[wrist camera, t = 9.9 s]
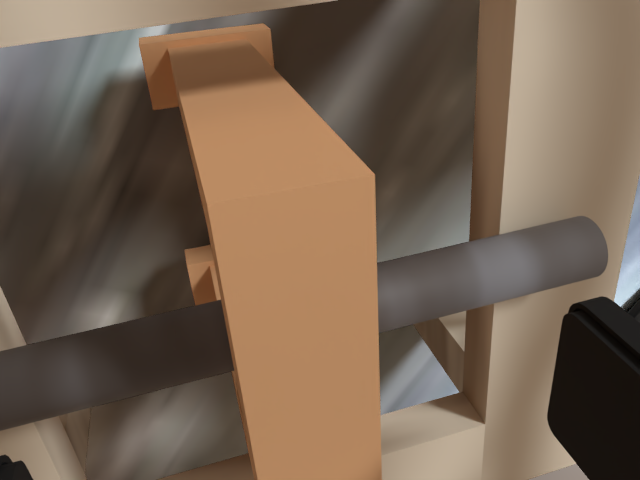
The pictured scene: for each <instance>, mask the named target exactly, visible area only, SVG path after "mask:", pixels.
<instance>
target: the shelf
mask: <svg viewBox="0 0 640 480" xmlns="http://www.w3.org/2000/svg"><path fill="white" fill-rule="evenodd" d="M329 1H336V0H0V48H2V47H9V46H16V45H23V44H30V43H37V42H45V41H52V40H59V39H66V38H73V37H80V36H87V35H94V34H101V33H109V32H116V31H123V30H130V29H137V28H144V27H151V26H158V25H165V24H173V23H180V22H187V21H194V20H201V19H208V18H215V17H222V16H230V15H237V14H244V13H251V12H258V11H265V10H272V9H279V8H286V7H294V6H301V5H308V4H315V3H322V2H329ZM639 174H640V0H480V9H479V31H478V54H477V77H476V99H475V122H474V145H473V167H472V190H471V213H470V235H469V242H465V243H461V244H457V245H452V246H448V247H444V248H440V249H435V250H431V251H427V252H423V253H418V254H414V255H410V256H405V257H401V258H397V259H393V260H388V261H384V262H380V263H377V286H378V330H379V333H382V332H385V331H389V330H393V329H397V328H401V327H405V326H409V325H414V327H415V328H416V330H417V331H418V333H419V334H420V335H421V337H422V338H423V340H424V341H425V343H426V344H427V346H428V347H429V348H430V350H431V351H432V353H433V354H434V356H435V357H436V359H437V360H438V362H439V363H440V364H441V366H442V367H443V369H444V370H445V372H446V373H447V375H448V376H449V378H450V379H451V380H452V382H453V383H454V385H455V386H456V388H457V389H458V391H459V392H460V393H457V394H453V395H450V396H446V397H443V398H439V399H436V400H432V401H429V402H425V403H422V404H418V405H415V406H411V407H408V408H404V409H401V410H397V411H394V412H390V413H387V414H384V415H380V418H381V462H382V480H529V479H531V478H534V477H538V476H541V475H544V474H547V473H550V472H553V471H556V470H559V469H562V468H565V467H568V466H572V465H574V464H576V462H575V461H574V460H573V459H572V457H571V456H570V455H569V454H568V452H567V451H566V450H565V449H564V447H563V446H562V445H561V444H560V442H559V441H558V440H557V439H556V437H555V436H554V435H553V433H552V432H551V430H550V427H549V425H548V421H547V412H548V406H549V400H550V393H551V387H552V381H553V375H554V369H555V362H556V356H557V350H558V344H559V338H560V331H561V325H562V320H563V316H564V315H565V314H568V311H569V308H570V306H571V305H572V304H574V303H578V302H582V301H585V300H589V299H593V298H597V297H600V296H604V297H607V298H609V299H611V300H612V301H614V297H615V293H616V288H617V283H618V278H619V273H620V268H621V263H622V258H623V253H624V248H625V243H626V238H627V233H628V228H629V223H630V218H631V213H632V209H633V204H634V199H635V194H636V189H637V184H638V179H639ZM231 371H234V366H233V361H232V356H231V350H230V345H229V340H228V334H227V329H226V324H225V318H224V313H223V308H222V302H221V300H217V301H213V302H209V303H204V304H200V305H196V306H191V307H187V308H183V309H179V310H174V311H170V312H166V313H162V314H157V315H153V316H149V317H144V318H140V319H136V320H132V321H127V322H123V323H119V324H114V325H110V326H106V327H102V328H97V329H93V330H89V331H85V332H80V333H76V334H72V335H67V336H63V337H59V338H55V339H50V340H46V341H42V342H37V343H33V344H29V345H26V342H25V340H24V338H23V336H22V333H21V331H20V329H19V327H18V325H17V322H16V320H15V318H14V316H13V313H12V311H11V309H10V307H9V305H8V302H7V300H6V298H5V296H4V293H3V291H2V289H1V287H0V456H1V455H7V456H9V458H10V459H11V460H12V462H16V461H20V460H21V461H23V462H24V463H25V465H26V467H27V469H28V470H29V472H30V474H31V476H32V478H33V480H87V478H86V476H85V468H86V457H87V447H88V436H89V425H90V414H91V407H95V406H99V405H103V404H107V403H110V402H114V401H118V400H122V399H126V398H130V397H134V396H138V395H141V394H145V393H149V392H153V391H157V390H161V389H165V388H169V387H172V386H176V385H180V384H184V383H188V382H192V381H196V380H200V379H203V378H207V377H211V376H215V375H219V374H223V373H227V372H231ZM157 480H254V476H253V471H252V466H251V462H250V457H249V453H248V454H244V455H241V456H237V457H234V458H230V459H227V460H223V461H220V462H216V463H213V464H209V465H206V466H202V467H199V468H195V469H192V470H188V471H185V472H181V473H178V474H174V475H171V476H167V477H164V478H160V479H157Z"/></svg>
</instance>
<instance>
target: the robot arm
mask: <svg viewBox="0 0 640 480" xmlns="http://www.w3.org/2000/svg"><path fill="white" fill-rule="evenodd" d="M547 421H548V425H549V427H550V430H551V432H552V433H553V435H554V436H555V437H556V439H557V440H558V441H559V442H560V444H561V445H562V446H563V447H564V449H565V450H566V451H567V452H568V454H569V455H570V456H571V457H572V459H573V460H574V461H575V462H576V464H577V465H578V466H579V467H580V469H581V470H582V471H583V472H584V473H585V475H586V476H587V477H588V479H589V480H640V323H639V322H638V321H637V320H636V319H634V318H633V317H632V316H631V315H630V314H628V313H627V312H626V311H625V310H623V309H622V308H621V307H620V306H618V305H617V304H616V303H615V302H614V301H612V300H611V299H609V298H607V297H604V296H600V297H597V298H593V299H589V300H585V301H582V302H578V303H574V304H572V305H571V306H570V308H569V311H568V314H565V315H564V316H563V320H562V325H561V331H560V338H559V344H558V350H557V356H556V362H555V369H554V375H553V381H552V387H551V393H550V400H549V406H548V412H547ZM0 480H33V478H32V476H31V474H30V472H29V470H28V469H27V467H26V465H25V463H24V462H23V461H21V460H20V461H16V462H12V460H11V459H10V458H9V456H7V455H1V456H0Z"/></svg>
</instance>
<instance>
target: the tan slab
mask: <svg viewBox="0 0 640 480" xmlns="http://www.w3.org/2000/svg"><path fill="white" fill-rule="evenodd" d="M139 47H140V51H141V56H142V61H143V65H144V70H145V74H146V79H147V84H148V88H149V93H150V98H151V102H152V107H153V110H158V109H165V108H172V107H179V108H180V112H181V117H182V121H183V125H184V129H185V134H186V138H187V142H188V146H189V151H190V155H191V159H192V164H193V168H194V172H195V176H196V181H197V185H198V189H199V193H200V198H201V202H202V206H203V210H204V215H205V219H206V223H207V228H208V233H209V238H210V244H211V245H207V246H202V247H197V248H191V249H186V250H185V257H186V264H187V269H188V273H189V278H190V283H191V287H192V292H193V297H194V301H195V306H196V305H200V304H204V303H209V302H213V301H217V300H221V302H222V308H223V313H224V318H225V324H226V329H227V334H228V340H229V345H230V350H231V356H232V361H233V366H234V371H231V372H232V377H233V382H234V386H235V391H236V396H237V400H238V405H239V410H240V415H241V419H242V424H243V429H244V433H245V438H246V443H247V447H248V452H249V457H250V462H251V466H252V471H253V476H254V480H382V462H381V418H380V374H379V330H378V286H377V242H376V199H375V174H374V173H373V172H372V171H371V170H370V169H369V168H368V167H367V166H366V164H365V163H364V162H363V161H362V160H361V159H360V158H359V157H358V156H357V155H356V154H355V153H354V152H353V151H352V150H351V149H350V148H349V147H348V146H347V145H346V143H345V142H344V141H343V140H342V139H341V138H340V137H339V136H338V135H337V134H336V133H335V132H334V131H333V130H332V129H331V128H330V127H329V126H328V125H327V123H326V122H325V121H324V120H323V119H322V118H321V117H320V116H319V115H318V114H317V113H316V112H315V111H314V110H313V109H312V108H311V107H310V106H309V105H308V103H307V102H306V101H305V100H304V99H303V98H302V97H301V96H300V95H299V94H298V93H297V92H296V91H295V90H294V89H293V88H292V87H291V86H290V85H289V83H288V82H287V81H286V80H285V79H284V78H283V77H282V76H281V75H280V74H279V73H278V72H277V71H276V70H275V68H274V59H273V49H272V40H271V30H270V28H269V27H267V26H266V25H265V24H263V23H261V24H253V25H244V26H236V27H227V28H219V29H210V30H202V31H193V32H185V33H176V34H168V35H159V36H151V37H142V38H139Z"/></svg>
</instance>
